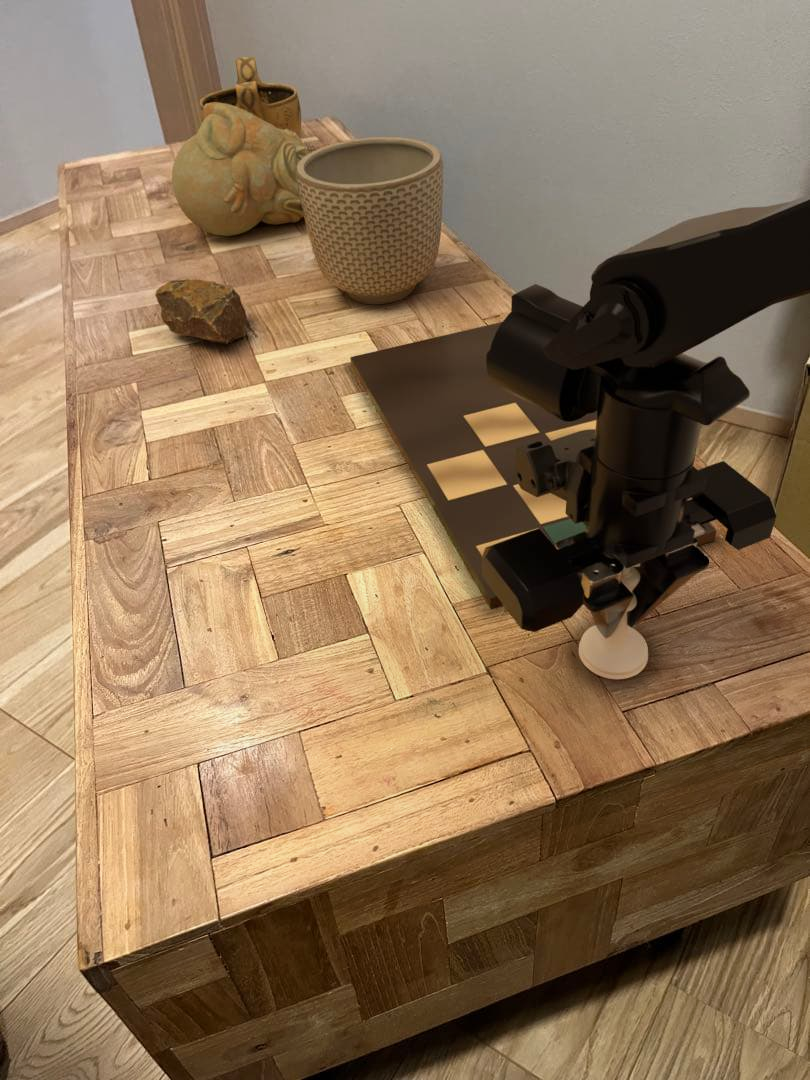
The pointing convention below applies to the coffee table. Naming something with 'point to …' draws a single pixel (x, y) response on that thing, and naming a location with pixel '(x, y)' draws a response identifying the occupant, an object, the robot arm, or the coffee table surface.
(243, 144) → the sculpture
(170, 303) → the rock
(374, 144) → the planter
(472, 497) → the game board
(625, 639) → the chess piece
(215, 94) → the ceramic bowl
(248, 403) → the coffee table surface
